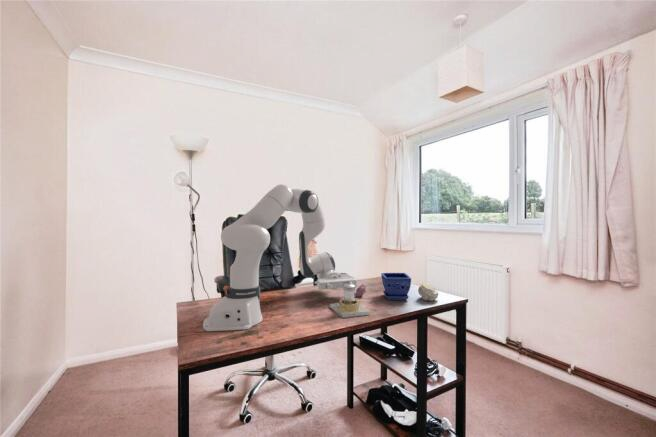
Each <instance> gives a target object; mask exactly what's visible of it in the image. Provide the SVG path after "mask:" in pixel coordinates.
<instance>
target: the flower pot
mask: <svg viewBox="0 0 656 437" xmlns="http://www.w3.org/2000/svg"><path fill="white" fill-rule="evenodd" d="M381 280H382V281H381V283H382V286H383V288H384V290H382V292H383V294H384V296H385V298H386V300H388V301H407V300H408V299H409V297H410V296H409V291H410V290H411V289H410V288H411V284H412V278H411V276H410V275H408V274H407V273H406V272H382V273H381Z"/></svg>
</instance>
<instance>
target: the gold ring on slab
mask: <svg viewBox="0 0 656 437" xmlns="http://www.w3.org/2000/svg"><path fill="white" fill-rule="evenodd" d="M329 308H330V309H331V310H333V311H334V312H335V313H336V314H337V315H338V316H339V317H340V318H342V319H345V318H354V317H362V316H369V315H371V311H370V310H369V309H367V307H365V306H363V305H362V304H361V303H360V300H358V299H355V304H345V303H344V298H342V299H339V301H338V302H335V303H329Z"/></svg>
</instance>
